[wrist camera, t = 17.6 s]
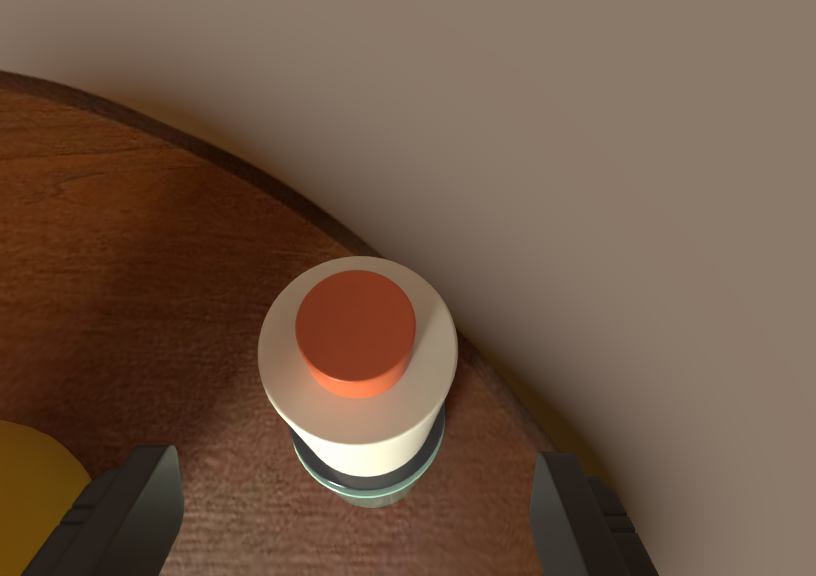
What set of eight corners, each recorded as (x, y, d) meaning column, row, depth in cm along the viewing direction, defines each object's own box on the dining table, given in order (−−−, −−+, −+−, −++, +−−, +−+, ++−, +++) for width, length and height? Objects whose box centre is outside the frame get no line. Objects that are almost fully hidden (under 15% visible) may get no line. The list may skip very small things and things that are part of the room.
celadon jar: (444, 425, 32) (475, 371, 21) (396, 528, 30) (404, 528, 19) (351, 378, 33) (334, 303, 22) (298, 475, 31) (250, 445, 20)
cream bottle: (454, 378, 21) (501, 279, 13) (396, 502, 19) (405, 481, 11) (341, 322, 22) (314, 194, 13) (274, 437, 20) (196, 371, 12)
